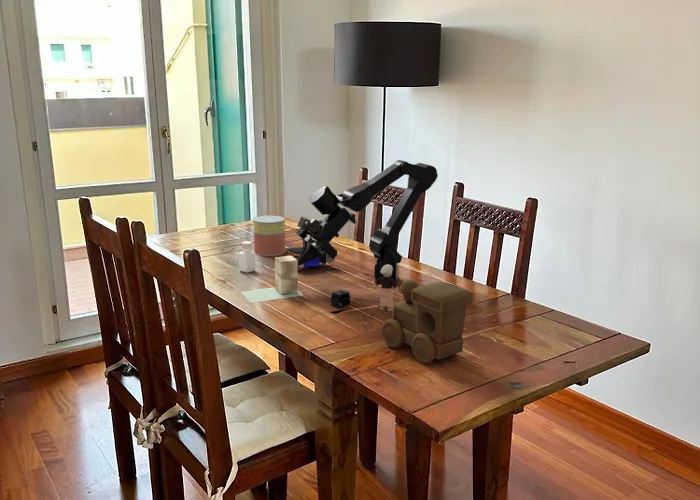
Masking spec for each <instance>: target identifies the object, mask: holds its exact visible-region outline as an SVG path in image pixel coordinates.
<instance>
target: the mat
mask: <svg viewBox="0 0 700 500" xmlns="http://www.w3.org/2000/svg"><path fill="white" fill-rule="evenodd" d="M239 293H240V295H242V296H243V297H244V298H245V299H246V300H247V301H248V302H249V304H254V303H259V302H260V303H261V302H266V301H273V300H281V299H288V298H294V297H295V298H296V297H302V296H304V294H303V293H302V292H301V291H299V290H298V293H294V294H287V295H280V294H279V293H278V292H277V291H276V290H275V286H274V287H267V288H259V289H252V290H244V291H240V292H239Z"/></svg>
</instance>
